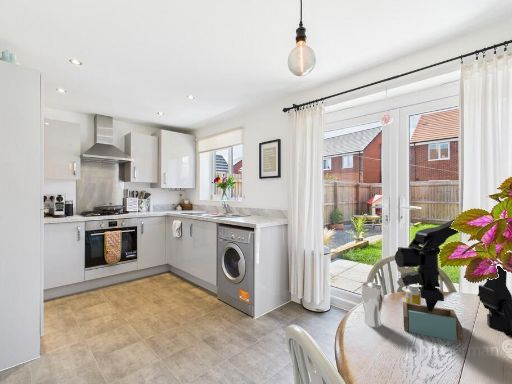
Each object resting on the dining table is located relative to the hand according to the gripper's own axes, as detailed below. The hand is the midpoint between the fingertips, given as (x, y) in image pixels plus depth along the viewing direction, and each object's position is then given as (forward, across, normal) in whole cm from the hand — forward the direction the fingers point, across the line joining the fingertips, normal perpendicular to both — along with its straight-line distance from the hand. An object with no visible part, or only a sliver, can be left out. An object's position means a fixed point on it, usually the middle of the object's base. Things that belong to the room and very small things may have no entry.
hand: (429, 311), depth 89 cm
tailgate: (+6, +4, 0) cm, 8 cm away
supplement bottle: (+8, -19, -4) cm, 21 cm away
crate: (+7, -1, 0) cm, 7 cm away
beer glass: (+7, +5, -18) cm, 20 cm away
